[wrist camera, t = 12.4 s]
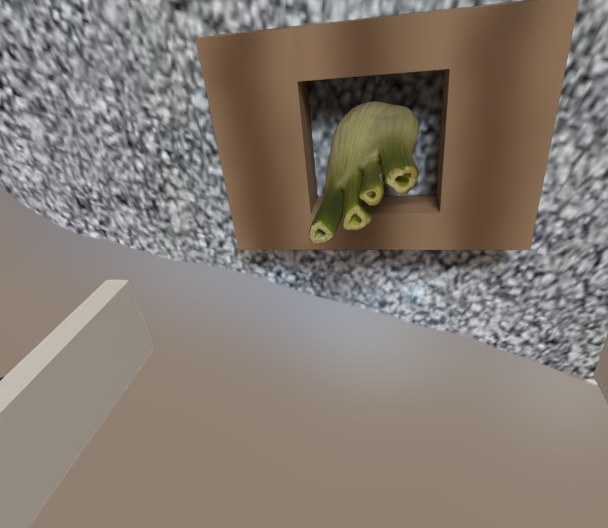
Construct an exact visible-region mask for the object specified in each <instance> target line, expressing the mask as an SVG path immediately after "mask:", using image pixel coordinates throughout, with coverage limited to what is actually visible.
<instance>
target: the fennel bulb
mask: <svg viewBox="0 0 608 528" xmlns="http://www.w3.org/2000/svg"><path fill="white" fill-rule="evenodd" d="M418 134H419V126H418V121H417V118H416V116H415V115H414V114H413V113H412V112H411V110H410V109H409V108H407V107H404V106H400V105H392V104H388V103H384V102H380V101H371V102H366V103H363V104H360V105H358V106H356V107H354V108H352V109H351V110H350V111H349V112H348V113H347V114H346V115H345V116H344V117H343V118H342V119H341V121H340V122H339V124H338V126H337V129H336V131H335V133H334V136H333V139H332V144H331V151H330V157H329V163H328V171H327V177H326V183H325V189H324V198H323V200H322V203H321V205H320V208H319V210H318V212H317V214H316V216H315V218H314V220H313V222H312V224H311V227H310V230H309V239H310V240H311V242H312V243H316V244H319V243H324V242H326V243H327V242H329V241H331V240H332V239H333V238H334V236H335V233H336V231H337V229H338V226H339V224H340V221H341V219H342V216H343V227H344V228H345V229H346V230H359V229H362V228H366V227H367V226H368V225H369V224H370V223H371V221H372V206H371V205H373V206H376V205H377V204H379V203H380V201H381V200H382V197H383V194H384V188H385V184H388V185H389V186H391V187H392V188H393V189H394V190H395V191H397V192H398V193H399V194H401V195H404V194H406V193H408V192H409V191H410V190H412V189H413V188H414V186H415V185H416V183H417V179H418V175H419V170H418V169H417V167H416V165H415V162H414V159H413V156H412V151H413V149H414V147H415V144H416V141H417V137H418Z"/></svg>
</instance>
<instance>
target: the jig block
mask: <svg viewBox="0 0 608 528" xmlns="http://www.w3.org/2000/svg"><path fill="white" fill-rule="evenodd" d="M578 2H579V0H526V1H517V2H508V3H499V4H490V5H481V6H472V7H463V8H455V9H446V10H437V11H428V12H419V13H410V14H401V15H392V16H383V17H374V18H365V19H356V20H347V21H338V22H329V23H320V24H311V25H302V26H293V27H284V28H275V29H267V30H258V31H249V32H240V33H231V34H222V35H213V36H208V37H202V38H197V39H196V43H197V48H198V53H199V58H200V63H201V68H202V73H203V78H204V82H205V87H206V92H207V97H208V102H209V107H210V112H211V117H212V121H213V126H214V131H215V136H216V141H217V146H218V151H219V156H220V160H221V165H222V170H223V175H224V180H225V185H226V190H227V195H228V199H229V204H230V209H231V214H232V219H233V224H234V229H235V234H236V238H237V243H238V248H239V249H280V250H530V247H531V242H532V237H533V232H534V227H535V222H536V217H537V212H538V207H539V201H540V196H541V191H542V186H543V181H544V176H545V171H546V166H547V160H548V155H549V150H550V145H551V140H552V135H553V130H554V125H555V120H556V114H557V109H558V104H559V99H560V94H561V89H562V84H563V79H564V74H565V68H566V63H567V58H568V53H569V48H570V43H571V38H572V33H573V28H574V22H575V17H576V12H577V7H578ZM442 69H444V81H443V97H442V113H441V130H440V146H439V162H438V178H437V194H436V195H410V196H383V197H382V200H381V201H380V203H379V204H377V205H376V206H373V205H371V206H372V221H371V223H370V224H369V225H368V226H367V227H366V228H362V229H359V230H346V229H345V228H344V227H343V216H342V219H341V221H340V224H339V226H338V229H337V231H336V233H335V236H334V238H333V239H332V240H331V241H329V242H327V243H326V242H324V243H319V244H316V243H312V242H311V240H310V239H309V230H310V227H311V224H312V222H313V220H314V218H315V216H316V214H317V212H318V210H319V208H320V205H321V203H322V200H323V198H318V197H317V186H316V175H315V164H314V152H313V141H312V130H311V119H310V108H309V97H308V86H307V81H310V80H322V79H334V78H346V77H358V76H370V75H382V74H394V73H406V72H418V71H430V70H442Z"/></svg>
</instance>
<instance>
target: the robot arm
mask: <svg viewBox="0 0 608 528" xmlns="http://www.w3.org/2000/svg"><path fill="white" fill-rule="evenodd" d="M154 349H155V348H154V345H153V343H152V340H151V338H150V335H149V332H148V329H147V327H146V324H145V321H144V319H143V316H142V313H141V311H140V308H139V305H138V303H137V300H136V297H135V294H134V292H133V289H132V286H131V284H130V281H129V280H106V281H105V282H104V283H103V284H102V285H101V286H100V287H99V288H98V289H97V290H96V291H95V292H94V293H93V294H91V295H90V296H89V297H88V298H87V299H86V300H85V301H84V302H83V303H82V304H81V305H80V306H79V307H78V308H77V309H76V310H75V311H74V312H73V313H71V314H70V315H69V316H68V317H67V318H66V319H65V320H64V321H63V322H62V323H61V324H60V325H59V326H58V327H57V328H56V329H55V330H54V331H52V332H51V333H50V335H48V336H47V337H46V338H45V339H44V340H43V341H42V342H41V343H40V344H39V345H38V346H37V347H36V348H35V349H34V350H32V351H31V352H30V353H29V354H28V355H27V356H26V357H25V358H24V359H23V360H22V361H21V362H20V363H19V364H18V365H17V366H16V367H15V368H14V369H12V370H11V371H10V372H9V374H7V375H6V376H5V377H2V378H0V528H28V527H29V526H30V525H31V523H32V522H33V520H34V519H35V518H36V516H37V515H38V513H39V512H40V510H41V509H42V508H43V506H44V505H45V503H46V502H47V500H48V499H49V498H50V496H51V495H52V493H53V492H54V491H55V489H56V488H57V486H58V485H59V484H60V482H61V481H62V479H63V478H64V476H65V475H66V474H67V472H68V471H69V469H70V468H71V467H72V465H73V464H74V462H75V461H76V459H77V458H78V457H79V455H80V454H81V452H82V451H83V450H84V448H85V447H86V445H87V444H88V443H89V441H90V440H91V438H92V437H93V435H94V434H95V433H96V431H97V430H98V428H99V427H100V426H101V424H102V423H103V421H104V420H105V418H106V417H107V416H108V414H109V413H110V411H111V410H112V409H113V407H114V406H115V404H116V403H117V401H118V400H119V399H120V397H121V396H122V394H123V393H124V392H125V390H126V389H127V387H128V386H129V384H130V383H131V382H132V380H133V379H134V377H135V376H136V375H137V373H138V372H139V370H140V369H141V367H142V366H143V365H144V363H145V362H146V360H147V359H148V358H149V356H150V355H151V353H152V352H153V351H154ZM594 378H595V380H596V381H597V383H598V385H599V387H600V389H601V391H602V393H603V395H604V397H605V399H606V401H607V403H608V335H607V338H606V340H605V343H604V346H603V349H602V352H601V355H600V358H599V361H598V364H597V367H596V370H595V373H594Z"/></svg>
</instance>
